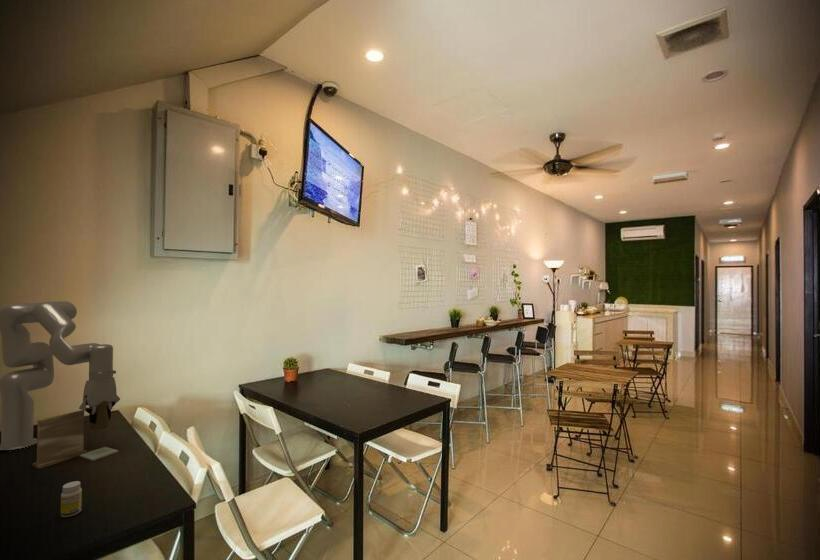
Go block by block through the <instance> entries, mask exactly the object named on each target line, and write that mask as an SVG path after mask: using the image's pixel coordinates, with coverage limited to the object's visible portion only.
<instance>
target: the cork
mask: <svg viewBox="0 0 820 560" xmlns="http://www.w3.org/2000/svg"><path fill="white" fill-rule="evenodd" d="M108 404H109V403H108V402H107V401H102V402H101V403H99V405H97V406H96V411H95V413H96V414H97V419H96V424H93V423H90V430H92V431H94V430H102V429H106V428H109V427H110V420H109V418H108V411H107V406H108Z"/></svg>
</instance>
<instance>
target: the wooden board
mask: <svg viewBox="0 0 820 560" xmlns="http://www.w3.org/2000/svg"><path fill="white" fill-rule="evenodd" d="M84 429H85V411H84V410H81V409H79V410H76V411H71V412H68V413H63V414H59V415H55V416H52V417H51V416H50V417H47V418H43V419H38V420H37V435H36V437H37V443H36V445H37V446H36V462H33V463H32V467H34V468H36V469H43V468H46V467H50V466H52V465H55V464H58V463H62V462H64V461H67V460H70V459H73V458H77V457H80V455H81V454H84V453H87V452H88V450H86V449H84V442H85V440H84V438H85V436H84V435H85V432H84V431H85V430H84Z"/></svg>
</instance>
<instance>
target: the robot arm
mask: <svg viewBox="0 0 820 560" xmlns="http://www.w3.org/2000/svg"><path fill="white" fill-rule="evenodd" d="M77 313H78V310H77V307H76V305H74V304H73V303H72V302H70V301H65V300H64V301H63V300H62V301H61V300H60V301H43V302H34V303H33V302H28V303H27V302H26V303H25V302H24V303H23V302H21V303H11V304H7V305H5V306H4V307H2V308H0V335H1V349H2V350H1V351H2V361H3V364H4V366H5V367H6V368H9V369H10V368H21V367H22V368H23V367H27V366H32V367H31V368H25V369H18V370H13V371H10V372H7V373H5V374H3V375H2V376H1V377H0V396H1V397H0V399H1V429H0V430H1V433H0V435H1V436H0V450H15V449H20V450H22V449H21V448H24V449H26V448H25V447H27V448H29V447H28V446H30V447H32V446H31V445H33V446H34V444H35V445H37V438H36V437H34V411H35V410H34V409H35V403H34V399H33V397H32V396H31V395H30V394H29V392H32V391H35V390H40V389H43V388H47V387H50V386H51V385H52V383H53V381H54V379H55V368H54V367H55V366H54V357H55V358H56V359H57V361H59V362H60V363H61V364H63V365H65V366H74V365H79V364H85V363H88V380H86V381H85V385H84V388H83V393H82V395H83V396H82V403H81V404H80V406H79V407H78V409H79V410H84V412H87V414H89V418H88V419H89V423H90V424H91V423H93V424H96V419H97V414H96V413H95V411H96V406H97V405H99V403H101V402H102V401H107V402H108V403H109V404H108V406H107V411H108V418H109V421H110V420H111V417H112V410H113V407H114V406H115V405H116V404H117V403H118V402H119V401H120V400H121V398H120V396H118V393H117V391H118V390H117V383H116V379H115V377H114V375H115V374H117V371H116V370H114V364H113V363H114V346H112V345H111V344H104V343H103V344H100V343H97V342H91V343H82V344H76V345H75V344H73V345H70V344H69V343H68V341H66V340H65V338H67V337H69V336H70V335H72V334H73V333H74V332H75V330H76V327H77V325H76V323H75V322H74V321H73V319H74V318H76V317H77ZM33 323H34V324H35V323H39V325H41V326H42V328H43V329H45V330H46V332H47V333H48V334H49V335H50V338H49V343H46V342H43V341H37V342H32V341H31V333H30V331H29V330H28V329H27V327H26V326H24V325H23V324H33ZM87 406H88V407H87ZM15 451H16V450H15Z"/></svg>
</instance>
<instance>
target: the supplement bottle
mask: <svg viewBox="0 0 820 560" xmlns="http://www.w3.org/2000/svg"><path fill="white" fill-rule="evenodd" d="M61 491H62V492H61V494H60V516H61V518H69V517H72V516H77V514H79V513H80V512H81V511H82V509H83V508H82V507H83V504H82V503H83V489H82V487H81V481H80V480H75V481H70V482H67V483H65V484H63V486H62V490H61Z"/></svg>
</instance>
